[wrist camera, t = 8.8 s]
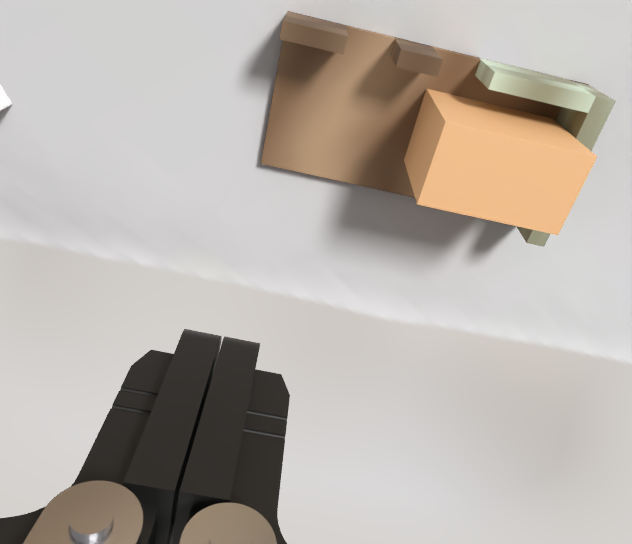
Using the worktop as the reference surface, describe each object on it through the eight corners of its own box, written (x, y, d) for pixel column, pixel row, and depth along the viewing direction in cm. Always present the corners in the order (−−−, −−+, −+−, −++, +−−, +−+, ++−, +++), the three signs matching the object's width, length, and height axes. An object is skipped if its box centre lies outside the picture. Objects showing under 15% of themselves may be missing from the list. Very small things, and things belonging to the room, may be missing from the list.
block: (552, 118, 30) (597, 156, 25) (522, 186, 32) (558, 235, 27) (426, 88, 29) (445, 121, 24) (403, 160, 31) (417, 204, 26)
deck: (587, 84, 29) (615, 101, 26) (525, 218, 33) (543, 246, 30) (288, 11, 28) (282, 20, 25) (261, 160, 32) (254, 184, 29)
